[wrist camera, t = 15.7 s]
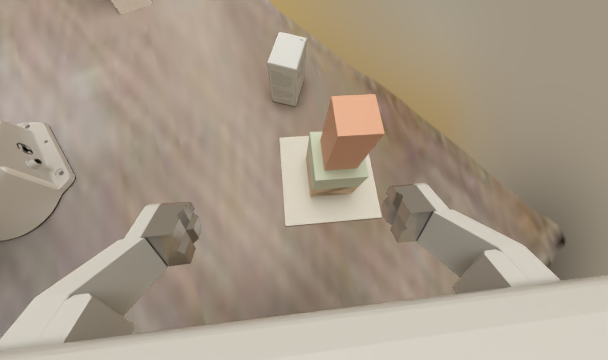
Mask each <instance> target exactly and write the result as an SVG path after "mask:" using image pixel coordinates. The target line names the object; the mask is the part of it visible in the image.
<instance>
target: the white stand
mask: <svg viewBox="0 0 608 360" xmlns="http://www.w3.org/2000/svg"><path fill="white" fill-rule="evenodd" d="M111 2H112V3H113V4H114V6H115V7H116V8H117V10H118V11H119V13H120V14H124V13H127V12H130V11H133V10H136V9H139V8H142V7H146V6H149V5H152V4H153V3H152V1H151V0H111Z"/></svg>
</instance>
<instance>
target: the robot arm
mask: <svg viewBox="0 0 608 360" xmlns="http://www.w3.org/2000/svg"><path fill="white" fill-rule="evenodd" d="M63 173H64V174H63ZM74 180H75V175H74V173H73V171H72V169H71V167H70V165H69V164H68V162H67V160H66V158H65V156H64V154H63V152H62V150H61V148H60V146H59V144H58V143H57V141H56V139H55V137H54V135H53V133H52V131H51V129H50V127H49V126H48V125H46V124H44V123H40V122H26V123H19V124H15V125H14V124H11V123H8V122H5V121H0V241H1V240H9V239H13V238H16V237H19V236H21V235H24V234H26V233H28V232H29V231H31V230H33V229H34V228H36V227H37V226H38V225H40V224H41V223H42V222H43V221H44V220H45V219H46V218H47V217H48V216H49V215H50V214H51V213H52V211H53V210H54V208H55V207H56V205H57V203H58V201H59V199H60V197H61V195H62V194H63V192H64V191H65V190H66V189H67V188H68V187H69V186H70V185H71V184H72V183H73V182H74ZM386 194H387V196H388V197H387V198H386V199H385V200H384V201H383V205H382V213H383V216H384V218H385V220H386V222H388V223H389V224H391V225H392V226H391V229H390V230H391V232H392V234H393V235H394V237H395V239H396V241H397V243H399V242H413V241H417V243H418V244H420V245H421V246H422V247H423V248H425V249H426V250H427V251H428V252H429V253H431V254H432V255H433V256H434V257H436V258H437V259H438V260H439V261H441V262H442V263H443V264H444V265H446V266H447V267H448V268H449V269H450V270H452V271H453V272H454V273H455V274H457V275H458V276H459V277H460V278H459V279H458V280H457V281H456V282H455V283H454V285H453V287H452V288H453V290H454V291H455V293H456V294H451V295H443V296H435V297H427V298H419V299H410V300H402V301H394V302H386V303H378V304H370V305H362V306H354V307H346V308H338V309H330V310H322V311H314V312H306V313H298V314H290V315H282V316H274V317H266V318H258V319H250V320H242V321H234V322H226V323H218V324H210V325H202V326H194V327H186V328H178V329H170V330H162V331H154V332H146V333H138V334H132V331H133V329H134V325H133V323H131V322H130V321H129V320H127V319H126V318H124V317H123V316H124V315H125V314H126V313H127V311H128V310H129V309H130V308H131V307H132V306H133V305H134V304H135V303H136V302H137V301H138V299H139V298H140V297H141V296H142V295H143V294H144V293H145V292H146V291H147V290H148V289H149V287H150V286H151V285H152V284H153V283H154V282H155V281H156V280H157V279H158V278H159V277H160V275H161V274H162V273H163V272H164V271H165V270H166V269H167V268H168V267H167V266H175V265H183V264H191V261H192V258H193V255H194V252H195V249H196V248H195V246H194V243H195V242H196V241H197V240H198V239H199V236H200V233H201V223H200V219H199V217H198V216H197V215H195V214H194V213H193V211H194V209H195V208H194V207H193V205H192V203H191V202H177V203H162V204H149V205H147V206H145V207H144V209H143V210H142V212H141V213H140V215H139V217H138V218H137V220H136V221H135V223H134V224H133V226H132V227H131V229H130V230H129V232H128V233H127V235H126V236H125V238H124V239H122V240H118V241H116V242H115V243H114V244H112V245H111V246H109V247H108V248H106V249H105V250H103V251H102V252H100V253H99V254H98V255H96V256H95V257H93V258H92V259H90V260H89V261H87V262H86V263H84V264H83V265H82V266H80V267H79V268H77V269H76V270H74V271H73V272H71V273H70V274H69V275H67V276H66V277H64V278H63V279H61V280H60V281H58V282H57V283H55V284H54V285H53V286H51V287H50V288H48V289H47V290H45V291H44V292H42V293H41V294H39V295H38V296H37V297H35V298H34V299H33V300H32V302H31V303H30V304H29V305H28V306H27V308H26V309H25V310H24V311H23V312H22V314H21V315H20V316H19V317H18V318H17V320H16V321H15V322H14V323H13V325H12V326H11V327H10V328H9V329H8V331H7V332H6V333H5V334H4V335H3V337H2V338H1V339H0V360H608V275H604V276H595V277H587V278H579V279H572V280H563V281H561V280H560V279H558V277H556V276H555V275H554V274H553V273H552V272H551V271H550V270H549V269H548V268H547V267H546V266H545V265H544V264H543V263H542V262H541V261H540V260H539V259H538V258H537V257H535V256H534V255H533V254H532V253H531V252H530V251H529V250H528V249H527V248H526V247H525V246H524V245H522V244H520V243H518V242H516V241H514V240H512V239H510V238H508V237H506V236H504V235H502V234H500V233H498V232H496V231H494V230H492V229H490V228H488V227H486V226H484V225H482V224H480V223H478V222H476V221H475V220H473V219H471V218H469V217H467V216H465V215H463V214H461V213H459V212H457V211H455V210H449V209H448V207H447V206H446V205H445V204H444V203H443V202H442V201H441V199H440V198H439V197H438V196H437V195H436V194H435V193H434V191H433V190H432V189H431V188H430V187H429V186H428V185H427V184H425V183H419V184H409V185H397V186H389V188H388V189H387V192H386Z"/></svg>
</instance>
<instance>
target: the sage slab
mask: <svg viewBox="0 0 608 360" xmlns="http://www.w3.org/2000/svg"><path fill="white" fill-rule="evenodd" d="M321 135H322V132H310V135H309V141H308V154H309V163H310V172H311V181H312V190H318V189H330V188H343V187H356V186H360V185H361V184H362V183H363V182H364V181H365V180H366V179H367V178H368V177H369V174H368V169H367V164H366V159H364V160H363V161H362V163H361V164H360V165H359V167H358V168H353V169H339V170H325V171H324V165H323V158H322V150H321V142H320V139H321Z"/></svg>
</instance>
